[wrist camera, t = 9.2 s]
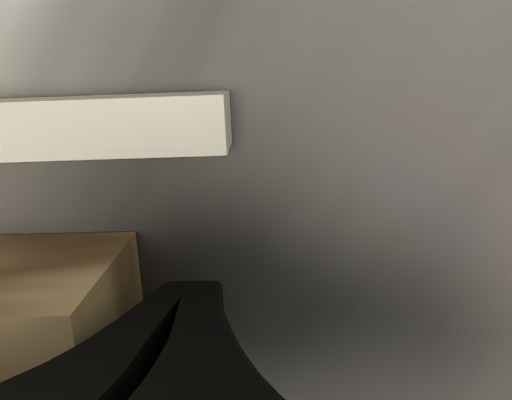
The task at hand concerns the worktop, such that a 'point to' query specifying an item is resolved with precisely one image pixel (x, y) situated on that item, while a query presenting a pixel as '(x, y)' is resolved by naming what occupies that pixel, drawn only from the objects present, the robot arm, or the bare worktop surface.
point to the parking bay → (115, 126)
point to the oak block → (61, 292)
